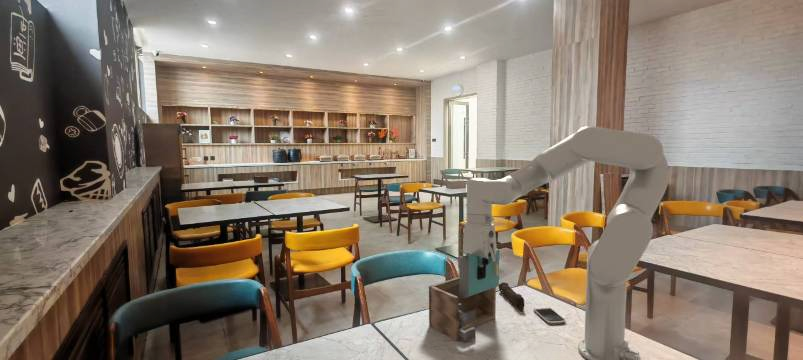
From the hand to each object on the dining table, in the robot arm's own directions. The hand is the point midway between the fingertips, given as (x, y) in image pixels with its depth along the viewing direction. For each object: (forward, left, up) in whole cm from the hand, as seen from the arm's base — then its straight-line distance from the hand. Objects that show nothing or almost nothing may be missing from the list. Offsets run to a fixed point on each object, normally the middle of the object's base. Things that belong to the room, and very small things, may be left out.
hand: (478, 276), depth 119 cm
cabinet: (+4, 0, -17) cm, 17 cm away
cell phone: (-9, -25, -17) cm, 31 cm away
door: (0, -1, -5) cm, 5 cm away
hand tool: (+6, -27, -17) cm, 32 cm away
